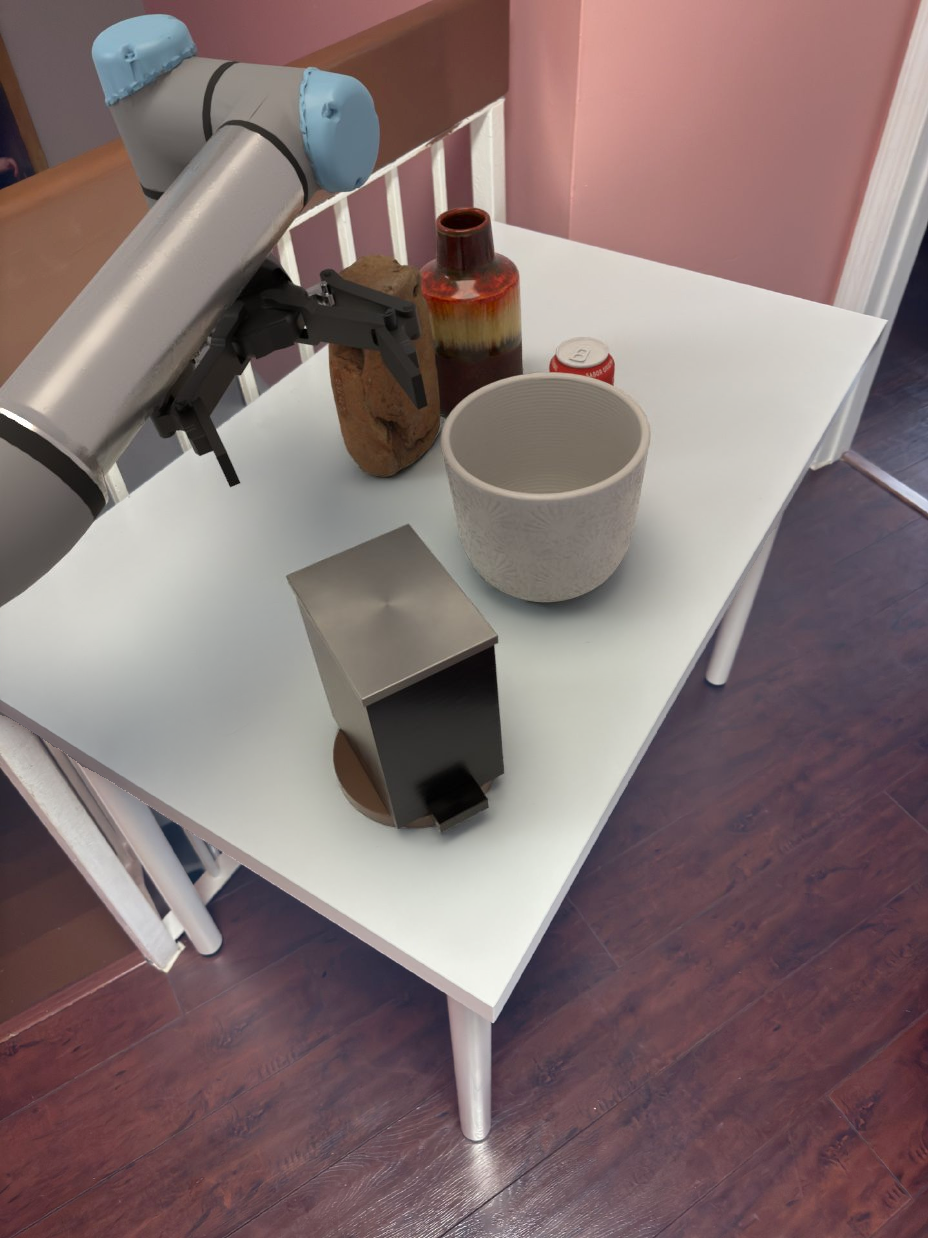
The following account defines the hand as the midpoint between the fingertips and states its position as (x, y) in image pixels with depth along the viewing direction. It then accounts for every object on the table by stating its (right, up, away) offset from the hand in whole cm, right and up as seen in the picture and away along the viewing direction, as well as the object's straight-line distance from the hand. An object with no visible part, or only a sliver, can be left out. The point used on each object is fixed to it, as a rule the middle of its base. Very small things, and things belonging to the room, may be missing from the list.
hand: (326, 431), depth 60 cm
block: (+2, +6, +38) cm, 39 cm away
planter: (+17, -7, +25) cm, 31 cm away
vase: (+10, +13, +44) cm, 47 cm away
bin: (+6, -23, +10) cm, 25 cm away
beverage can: (+21, +5, +36) cm, 42 cm away
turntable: (+5, -23, +12) cm, 27 cm away
